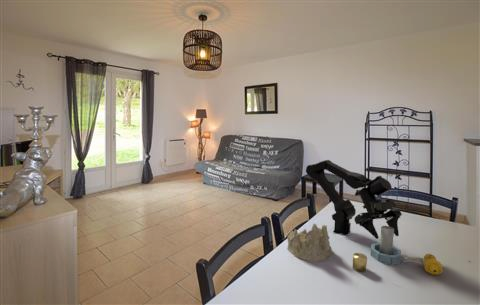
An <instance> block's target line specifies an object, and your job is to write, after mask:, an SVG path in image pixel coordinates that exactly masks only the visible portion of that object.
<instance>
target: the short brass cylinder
mask: <svg viewBox="0 0 480 305" xmlns="http://www.w3.org/2000/svg"><path fill="white" fill-rule="evenodd" d="M367 262H368V257H367V255H365V254H364V253H361V252H355V253H353V256H352V270H354V271H355V272H358V273H361V274H362V273H365V272H367V266H368V263H367Z"/></svg>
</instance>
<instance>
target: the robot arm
mask: <svg viewBox="0 0 480 305" xmlns="http://www.w3.org/2000/svg"><path fill="white" fill-rule="evenodd" d="M325 170H326V171H328V172H329V173H331V174H333V175H335V176H337V177H338V178H341V179H342V180H343V181H344V182H345V184H347V185H348V186H349V188H352V189H353V190H356V191H355V193H354V196H355V197H359V198H360V199H361V201H362V203H363V206H362V208H363V209H366V211H367V212H359V214H357V215H356V213H357V211H356V208H355V205H353V203H352V202H351V200H350V199H346V200H345V199H344V198H342V196H341V195H340V193H339V192H338V191H337V190H336V188H335V187H334V186H333V185H332V182H330V180H329V179H328V178H327V176H326V175H325V173H326V172H325ZM305 173H306V175H307V176H308V177H309V178H310V179H312V180H314V181H315V182H316V183H317V184H318V185H319V186H320V188H321V189H322V190H323V191H324V193H325V194H326V195H327V197H328V199H329V200H330V201H331V203H333V207H334V211H335V212H334V213H333V214H331V218H332V220H333V221H334V226H333V227H334V228H333V233H336V234H339V235H344V236H348V235H349V234H350V232H351V222H350V221H351V220H352V219H353V218H354V222H355V224H356V225H359V227H362V228H364V229H365V230H366V231H367V232H369V233H370V234H371V235H372V236H373V237H374V238H375V239H376V240H378V239H380V237H379V234H378V231H377V230H376V228H375V225H374V220H378V219H381V220H382V219H385V223H386V224H387V225H388V226H389V227H392V228H393V229H394V236H396V237H399V236H400V235H399V227H398V221H399V219H401V216H403V214H402V212H401V210H400V209H398V208H396V209H394V208H395V207H396V203H395V201H394V199H393V198H391V199H390V198H389V199H386V201H383V202H382V200H381V199H378V198H377V197H380V196H382V195H384V194H386V193H388V192H389V191H390V190H392V184H391V182H390V181H389V180H387V179H386V178H384V177H382V175H378V176H376V177H375V178H374V179H370V178H368V177H367V176H366V175H365V174H361V173H359V172H354V171H351V170H350V171H349V170H348V169H346V168H344V167H342V166H340V165H338V164H336V163H334V162H332V161H331V160H330V159H326V160H321V161H319V162H317V163H314V164H308V165H307V166H306V168H305ZM360 188H361V189H360ZM355 215H356V216H355Z"/></svg>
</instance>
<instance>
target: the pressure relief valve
mask: <svg viewBox="0 0 480 305" xmlns="http://www.w3.org/2000/svg"><path fill="white" fill-rule="evenodd" d="M403 258H407V260H404V259H403ZM401 262H404V263H408V262H413V263H414V262H415V263H421V264H423V267H424V270H425V271H426V273H428V274H431V275H433V276H437V275H440V274H442V273H443V271H444V270H443V265H442V263H441V261H438V260H437V258H436V256H435V255H434V254H432V253H426V254H424V255H423V257H416V256H408V255H406V254H403V255H402V254H401Z"/></svg>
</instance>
